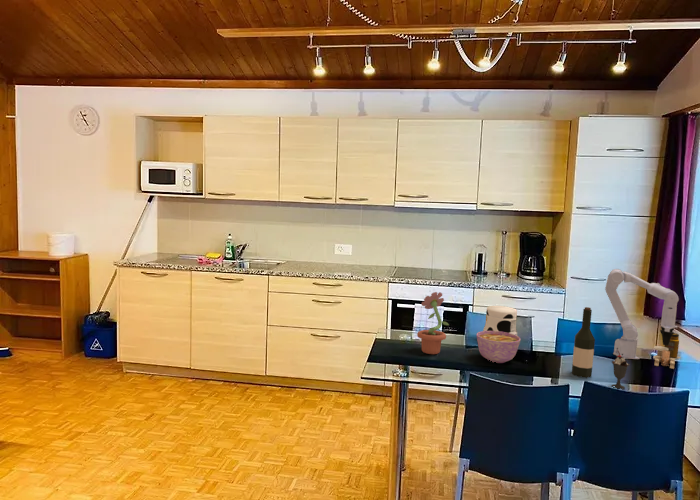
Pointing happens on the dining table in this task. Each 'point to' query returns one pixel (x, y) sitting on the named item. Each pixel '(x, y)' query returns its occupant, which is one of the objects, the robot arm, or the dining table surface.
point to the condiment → (673, 346)
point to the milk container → (501, 319)
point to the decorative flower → (431, 336)
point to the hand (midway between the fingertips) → (665, 343)
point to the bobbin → (659, 350)
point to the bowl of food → (497, 345)
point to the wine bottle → (584, 348)
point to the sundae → (619, 370)
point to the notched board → (659, 359)
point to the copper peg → (665, 358)
